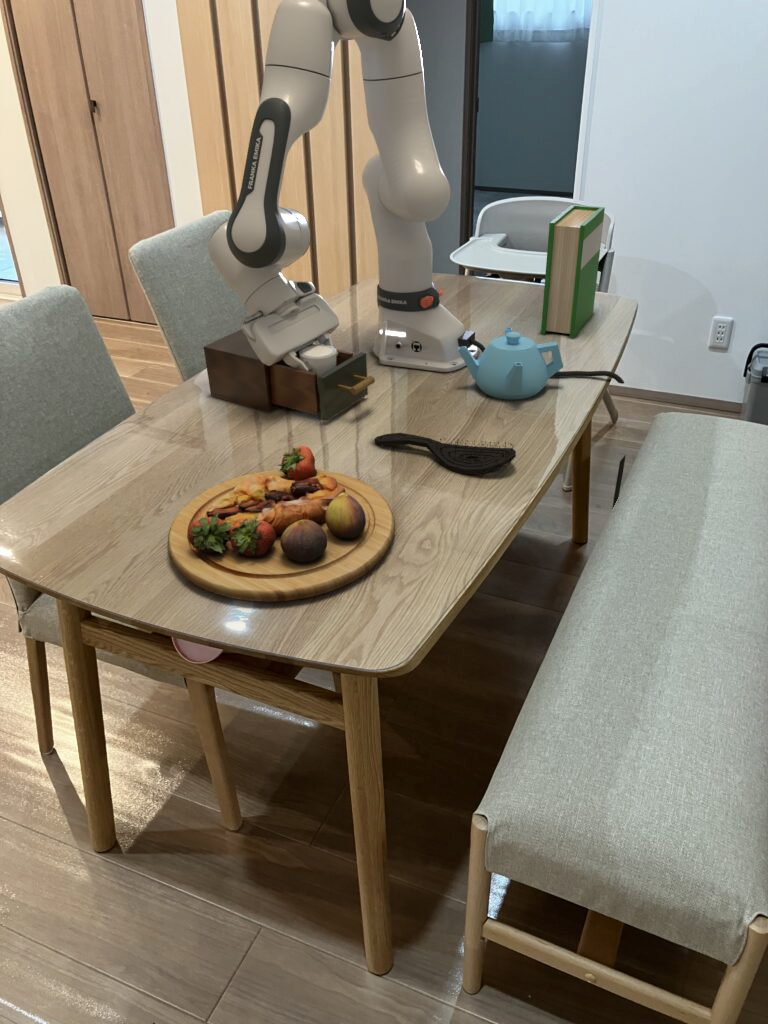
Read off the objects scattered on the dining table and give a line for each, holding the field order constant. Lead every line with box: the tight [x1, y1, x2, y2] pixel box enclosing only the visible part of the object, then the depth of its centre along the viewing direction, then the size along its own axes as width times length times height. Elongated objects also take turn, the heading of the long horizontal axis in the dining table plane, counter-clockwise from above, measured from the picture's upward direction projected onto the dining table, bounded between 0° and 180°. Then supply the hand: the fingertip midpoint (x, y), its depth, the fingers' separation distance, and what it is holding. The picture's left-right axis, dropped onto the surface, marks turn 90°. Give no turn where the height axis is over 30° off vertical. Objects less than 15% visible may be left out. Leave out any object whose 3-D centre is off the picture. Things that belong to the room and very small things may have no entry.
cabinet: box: [203, 328, 314, 413], centre depth 159 cm, size 15×15×10 cm
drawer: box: [267, 343, 376, 422], centre depth 152 cm, size 18×13×8 cm
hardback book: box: [540, 204, 606, 339], centre depth 183 cm, size 18×7×24 cm, turn 154°
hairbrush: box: [373, 432, 517, 475], centre depth 136 cm, size 8×4×25 cm
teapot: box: [458, 327, 564, 400], centre depth 157 cm, size 15×15×11 cm
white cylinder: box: [299, 344, 337, 393], centre depth 152 cm, size 7×7×7 cm
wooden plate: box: [167, 445, 396, 603], centre depth 116 cm, size 32×32×8 cm
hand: (321, 365), depth 151 cm, fingers closed on white cylinder, 7 cm apart
